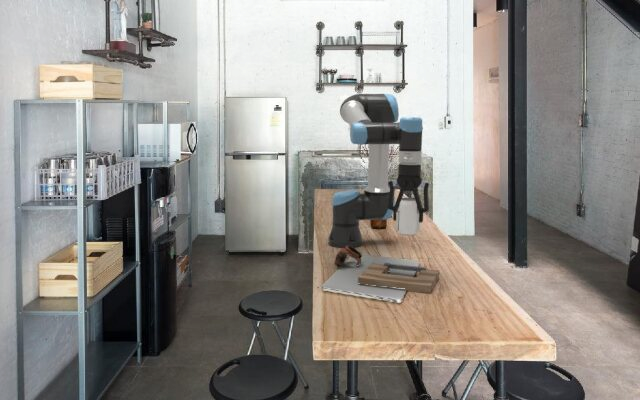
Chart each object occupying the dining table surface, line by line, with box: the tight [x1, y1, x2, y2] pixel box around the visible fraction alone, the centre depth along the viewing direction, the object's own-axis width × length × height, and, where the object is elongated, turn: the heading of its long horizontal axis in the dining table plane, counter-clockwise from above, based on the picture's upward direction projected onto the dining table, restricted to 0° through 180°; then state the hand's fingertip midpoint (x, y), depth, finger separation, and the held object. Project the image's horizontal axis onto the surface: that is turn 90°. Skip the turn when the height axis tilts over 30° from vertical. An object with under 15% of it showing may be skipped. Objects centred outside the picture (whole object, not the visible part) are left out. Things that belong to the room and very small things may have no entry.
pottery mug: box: [334, 246, 363, 267], centre depth 198 cm, size 12×10×8 cm
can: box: [398, 197, 419, 236], centre depth 180 cm, size 6×6×12 cm
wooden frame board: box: [357, 263, 440, 294], centre depth 180 cm, size 18×24×2 cm
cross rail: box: [383, 262, 427, 273], centre depth 188 cm, size 2×15×3 cm, turn 68°
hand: (407, 230), depth 181 cm, fingers closed on can, 6 cm apart
